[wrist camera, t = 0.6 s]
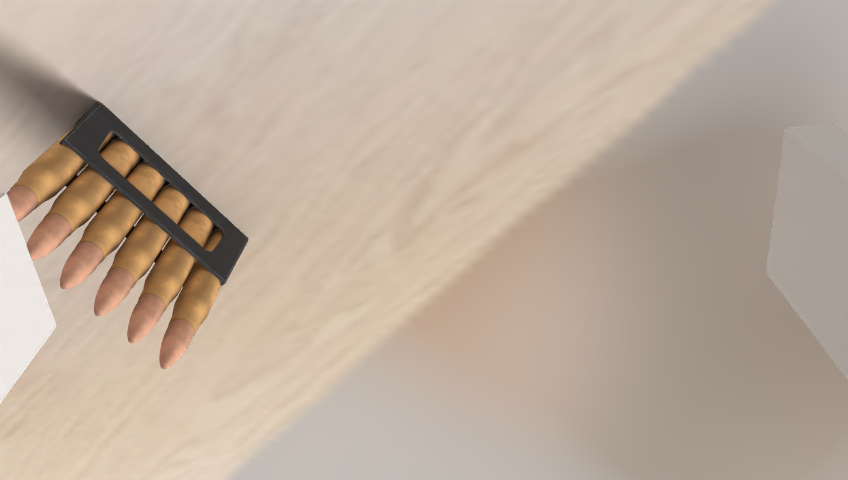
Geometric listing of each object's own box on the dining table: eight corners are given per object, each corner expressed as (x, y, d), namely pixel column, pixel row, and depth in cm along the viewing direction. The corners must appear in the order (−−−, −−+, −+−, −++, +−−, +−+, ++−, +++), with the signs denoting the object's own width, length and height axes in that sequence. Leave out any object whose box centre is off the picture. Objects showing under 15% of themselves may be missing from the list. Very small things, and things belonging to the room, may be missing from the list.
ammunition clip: (76, 122, 41) (-45, 226, 30) (99, 100, 40) (-17, 198, 30) (227, 257, 45) (166, 391, 34) (249, 239, 44) (194, 370, 34)
